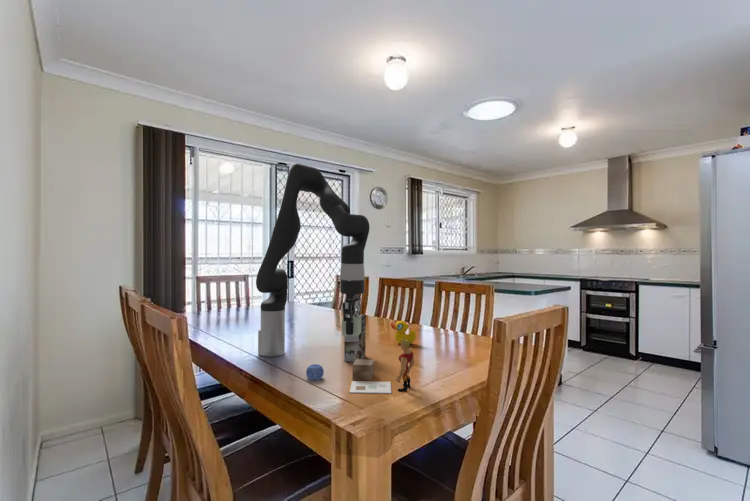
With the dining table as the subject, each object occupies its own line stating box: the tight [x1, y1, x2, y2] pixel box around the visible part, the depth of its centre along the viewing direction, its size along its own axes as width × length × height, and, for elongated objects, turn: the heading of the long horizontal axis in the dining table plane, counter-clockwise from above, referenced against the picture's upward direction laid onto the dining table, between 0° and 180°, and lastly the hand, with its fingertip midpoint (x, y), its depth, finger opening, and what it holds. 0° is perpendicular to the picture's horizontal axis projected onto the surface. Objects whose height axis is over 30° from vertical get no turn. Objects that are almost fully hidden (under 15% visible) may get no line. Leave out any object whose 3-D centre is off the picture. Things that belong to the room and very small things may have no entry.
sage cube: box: [341, 315, 361, 336], centre depth 121 cm, size 5×5×5 cm
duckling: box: [390, 320, 417, 345], centre depth 169 cm, size 11×5×10 cm, turn 70°
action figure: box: [395, 338, 415, 392], centre depth 115 cm, size 10×4×15 cm, turn 156°
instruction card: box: [349, 380, 392, 395], centre depth 115 cm, size 12×9×1 cm
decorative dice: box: [305, 363, 324, 381], centre depth 123 cm, size 4×4×4 cm
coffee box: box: [343, 313, 367, 363], centre depth 146 cm, size 9×6×16 cm
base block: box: [352, 358, 375, 382], centre depth 125 cm, size 6×6×5 cm
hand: (351, 332), depth 121 cm, fingers closed on sage cube, 5 cm apart
